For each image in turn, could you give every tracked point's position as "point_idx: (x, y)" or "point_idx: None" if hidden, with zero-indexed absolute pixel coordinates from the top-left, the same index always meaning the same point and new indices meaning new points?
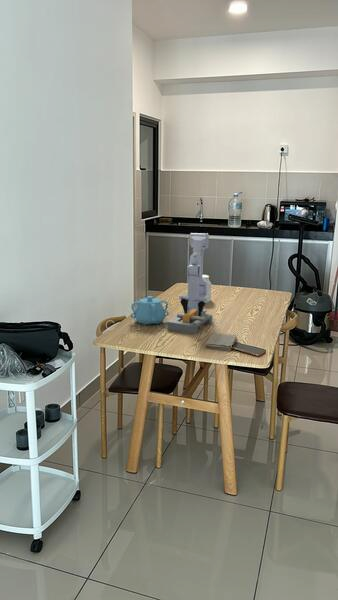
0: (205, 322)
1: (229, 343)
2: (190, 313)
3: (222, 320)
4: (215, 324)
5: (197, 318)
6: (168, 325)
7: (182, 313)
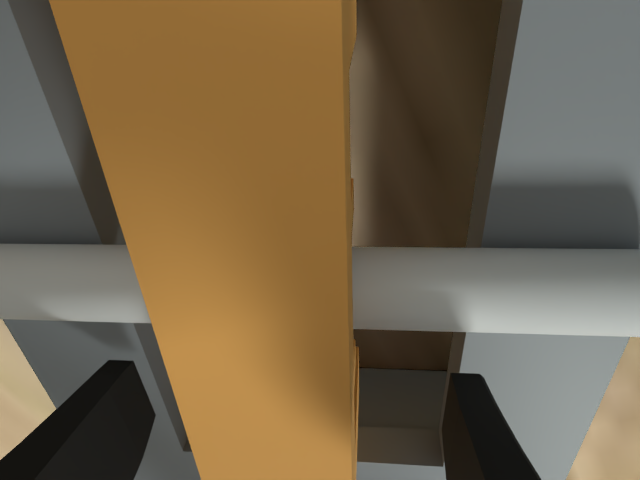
0: None
1: None
2: (199, 302)
3: None
4: None
5: (69, 247)
6: None
7: (564, 438)
